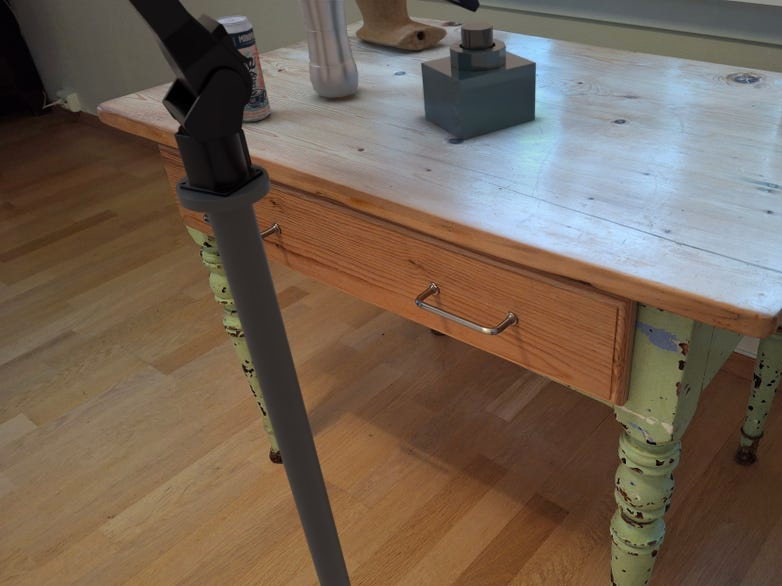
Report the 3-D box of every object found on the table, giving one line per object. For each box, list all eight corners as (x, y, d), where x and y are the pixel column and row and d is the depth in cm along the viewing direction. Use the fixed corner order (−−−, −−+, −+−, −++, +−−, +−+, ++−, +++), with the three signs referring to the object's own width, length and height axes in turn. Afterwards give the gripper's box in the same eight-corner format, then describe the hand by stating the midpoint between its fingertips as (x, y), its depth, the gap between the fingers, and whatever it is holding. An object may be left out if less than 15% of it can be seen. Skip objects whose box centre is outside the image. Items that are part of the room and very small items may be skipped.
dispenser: (461, 140, 85) (458, 62, 79) (425, 119, 91) (419, 45, 85) (535, 119, 89) (536, 45, 83) (495, 100, 95) (494, 29, 89)
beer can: (245, 126, 91) (220, 26, 83) (228, 117, 93) (203, 19, 86) (278, 116, 93) (257, 18, 85) (261, 107, 96) (239, 12, 88)
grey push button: (472, 55, 82) (471, 31, 81) (455, 48, 85) (454, 25, 83) (499, 49, 84) (499, 26, 82) (482, 42, 86) (481, 20, 85)
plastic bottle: (357, 102, 96) (333, -67, 84) (308, 103, 97) (277, -65, 84) (364, 87, 101) (342, -74, 89) (317, 88, 102) (289, -72, 89)
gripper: (475, -168, 63) (567, -44, 74) (381, -170, 75) (472, -64, 87) (406, -56, 64) (506, 48, 76) (326, -77, 77) (422, 16, 88)
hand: (476, 8), depth 82 cm, fingers closed
